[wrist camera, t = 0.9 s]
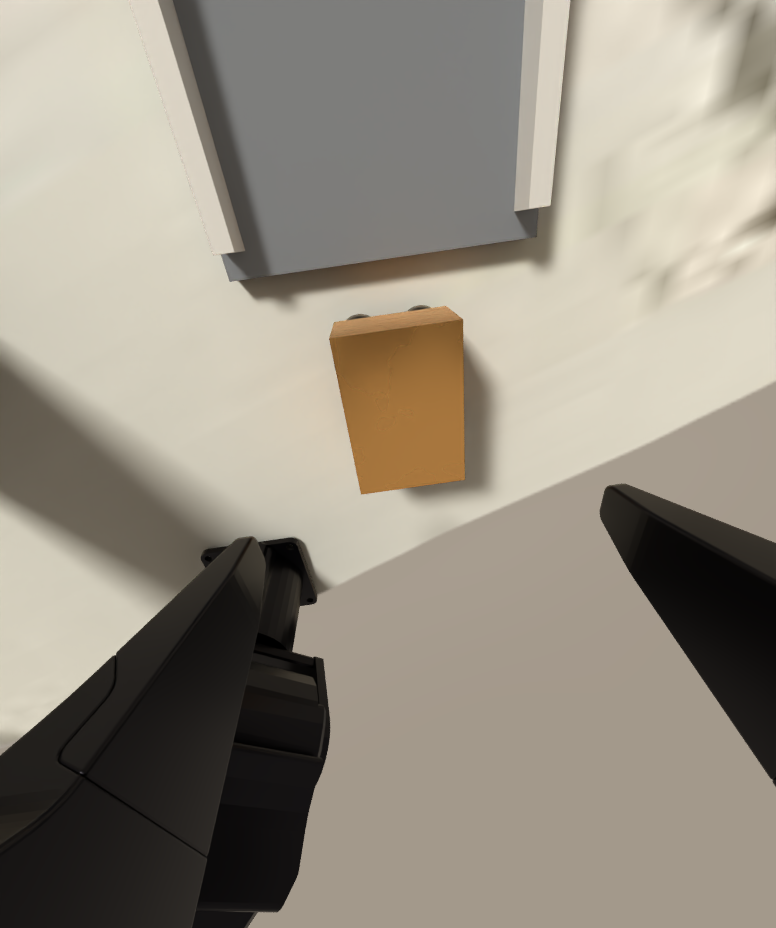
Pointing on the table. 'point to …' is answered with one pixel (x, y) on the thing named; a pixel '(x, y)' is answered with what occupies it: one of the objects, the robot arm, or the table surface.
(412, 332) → the trolley
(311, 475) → the table surface
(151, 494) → the table surface
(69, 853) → the robot arm
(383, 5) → the dock
